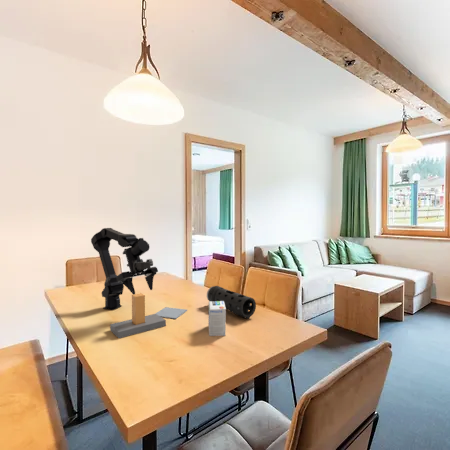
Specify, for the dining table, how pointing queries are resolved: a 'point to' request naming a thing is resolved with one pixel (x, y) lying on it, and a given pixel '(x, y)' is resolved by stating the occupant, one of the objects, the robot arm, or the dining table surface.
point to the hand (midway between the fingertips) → (143, 292)
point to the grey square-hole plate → (137, 326)
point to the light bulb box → (217, 318)
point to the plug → (138, 308)
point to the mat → (171, 312)
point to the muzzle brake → (233, 301)
